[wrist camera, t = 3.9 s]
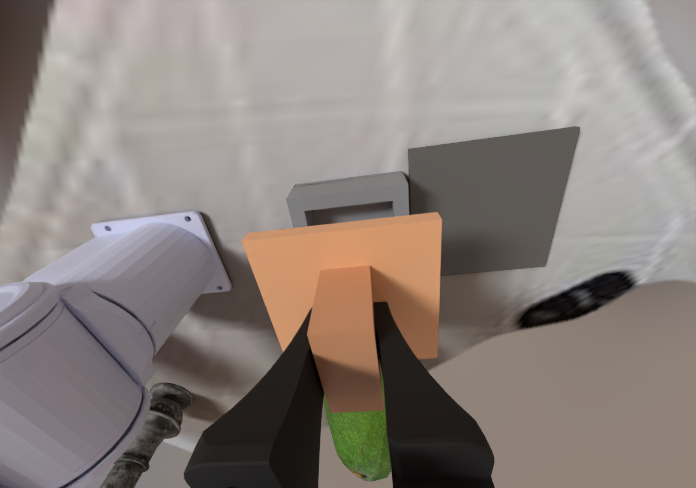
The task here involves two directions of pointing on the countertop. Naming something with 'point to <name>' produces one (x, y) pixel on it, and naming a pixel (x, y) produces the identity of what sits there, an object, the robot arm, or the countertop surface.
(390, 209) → the box
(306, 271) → the lid
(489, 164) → the mat
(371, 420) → the avocado
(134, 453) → the candlestick holder
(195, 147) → the countertop surface
